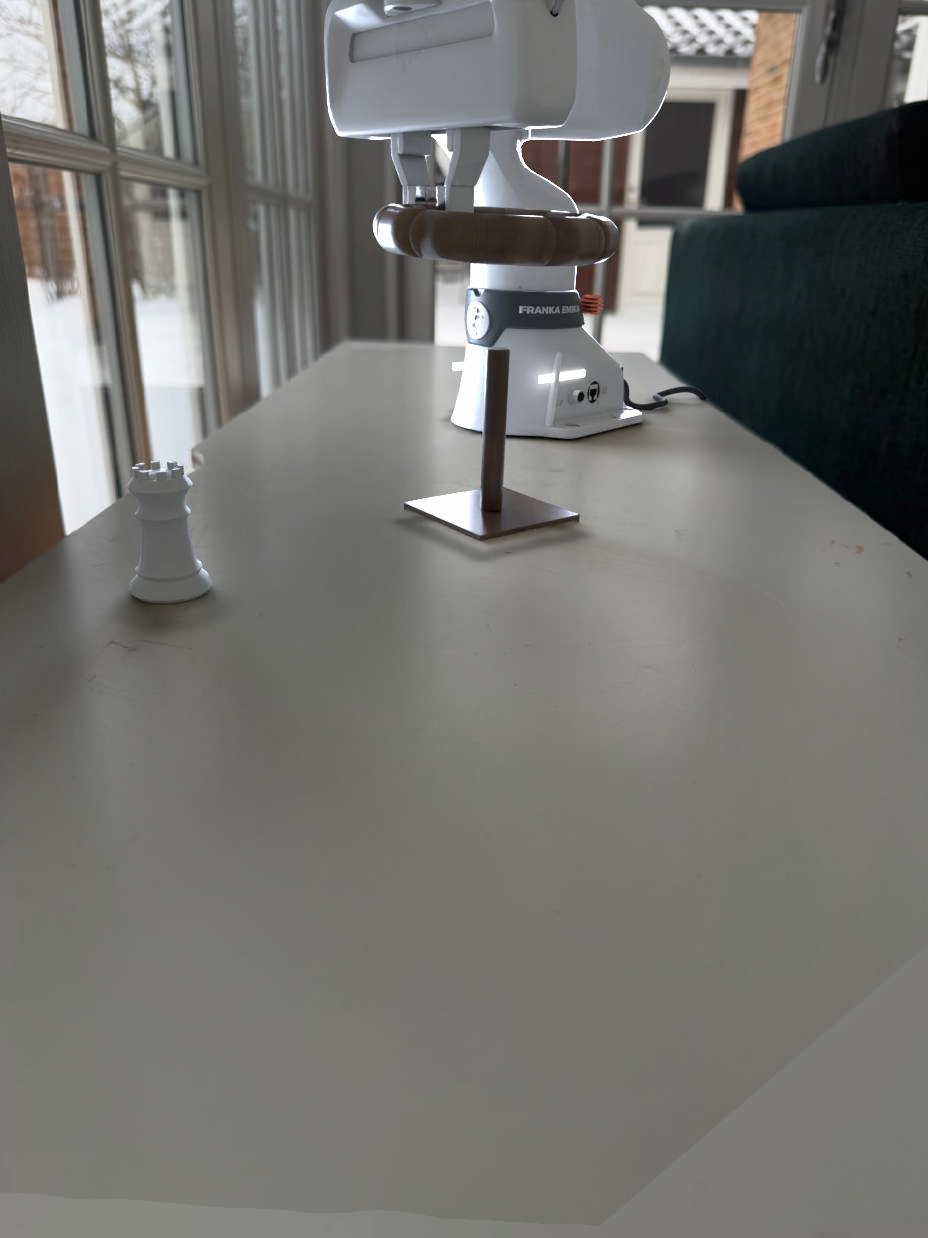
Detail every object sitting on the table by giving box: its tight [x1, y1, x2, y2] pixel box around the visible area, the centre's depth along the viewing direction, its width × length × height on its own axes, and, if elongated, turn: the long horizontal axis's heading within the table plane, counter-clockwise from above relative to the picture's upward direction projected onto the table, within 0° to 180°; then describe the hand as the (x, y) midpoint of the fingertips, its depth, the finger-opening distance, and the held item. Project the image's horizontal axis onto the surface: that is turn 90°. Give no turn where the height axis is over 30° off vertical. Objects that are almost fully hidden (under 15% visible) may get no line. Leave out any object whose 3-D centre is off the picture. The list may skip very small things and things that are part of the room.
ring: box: [372, 203, 620, 267], centre depth 51 cm, size 14×14×2 cm
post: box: [403, 347, 581, 542], centre depth 61 cm, size 9×9×12 cm
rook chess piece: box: [126, 460, 213, 605], centre depth 47 cm, size 4×4×8 cm
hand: (437, 217), depth 54 cm, fingers closed on ring, 2 cm apart
